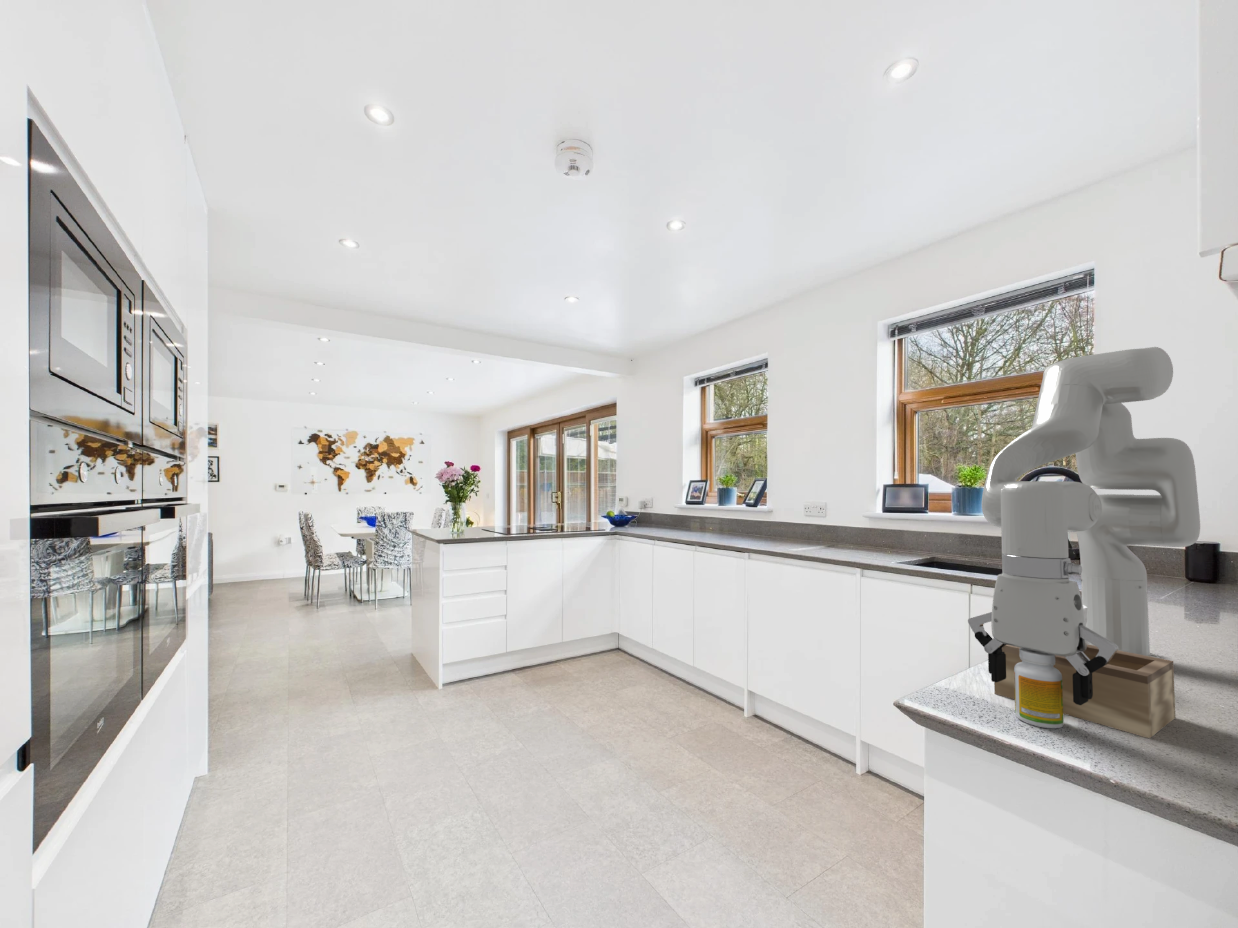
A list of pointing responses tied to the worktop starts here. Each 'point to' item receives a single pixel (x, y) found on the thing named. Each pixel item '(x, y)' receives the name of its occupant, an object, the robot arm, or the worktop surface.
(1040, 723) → the supplement bottle
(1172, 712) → the wooden box
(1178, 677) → the worktop surface
